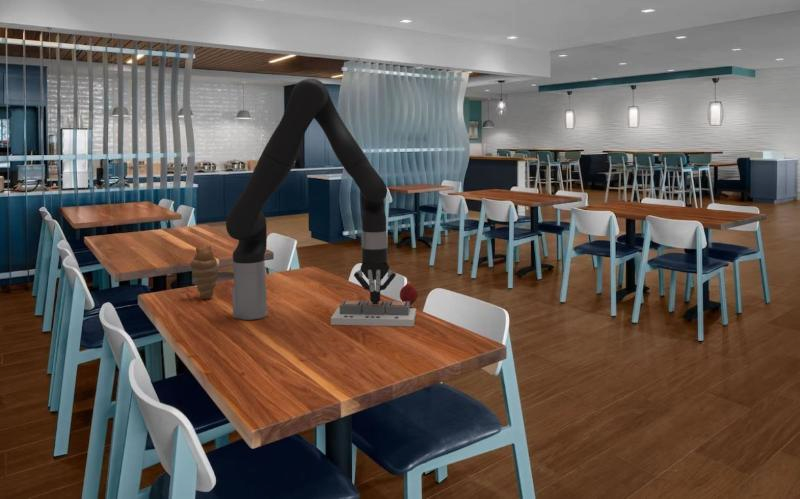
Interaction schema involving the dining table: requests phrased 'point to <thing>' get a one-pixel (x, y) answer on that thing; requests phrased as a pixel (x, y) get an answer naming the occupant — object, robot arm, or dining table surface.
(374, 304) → the button three
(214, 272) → the cat ice cream
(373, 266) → the robot arm
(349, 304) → the button two
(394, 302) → the button one
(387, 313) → the button panel
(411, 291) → the onion
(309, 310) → the dining table surface
